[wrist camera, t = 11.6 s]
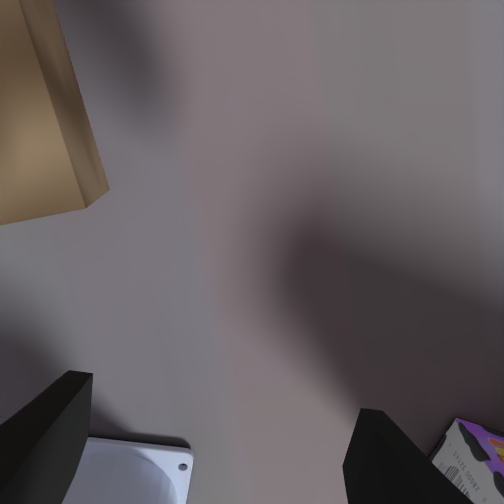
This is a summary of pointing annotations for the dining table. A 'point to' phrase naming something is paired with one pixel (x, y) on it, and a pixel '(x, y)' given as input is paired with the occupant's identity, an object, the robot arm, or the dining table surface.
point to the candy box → (473, 461)
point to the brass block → (42, 119)
